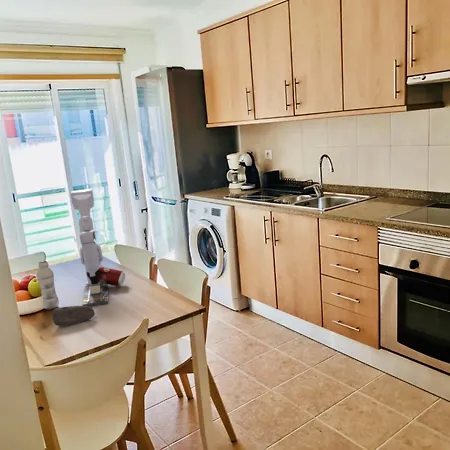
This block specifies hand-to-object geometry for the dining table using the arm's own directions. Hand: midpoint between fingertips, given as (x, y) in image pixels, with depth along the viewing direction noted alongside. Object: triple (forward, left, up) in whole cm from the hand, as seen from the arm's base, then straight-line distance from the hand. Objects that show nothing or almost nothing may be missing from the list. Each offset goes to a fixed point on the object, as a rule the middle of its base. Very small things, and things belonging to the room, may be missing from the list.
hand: (95, 286), depth 195 cm
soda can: (-3, +12, 0) cm, 12 cm away
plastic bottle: (+9, -18, -3) cm, 21 cm away
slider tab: (+4, 0, -1) cm, 4 cm away
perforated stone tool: (+29, -7, -3) cm, 30 cm away
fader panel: (+4, 0, -3) cm, 5 cm away
